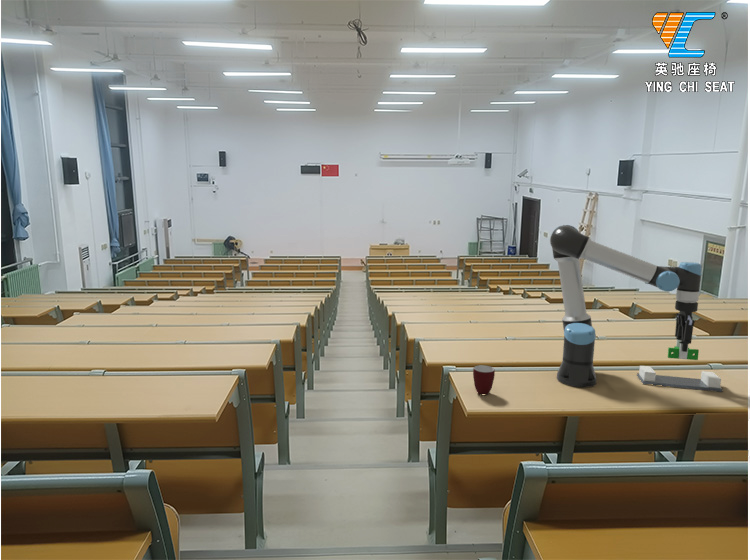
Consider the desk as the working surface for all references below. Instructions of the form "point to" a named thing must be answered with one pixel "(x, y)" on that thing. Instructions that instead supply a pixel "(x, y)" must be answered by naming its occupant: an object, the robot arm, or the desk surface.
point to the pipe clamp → (689, 354)
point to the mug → (483, 378)
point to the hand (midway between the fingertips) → (680, 357)
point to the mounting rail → (681, 380)
